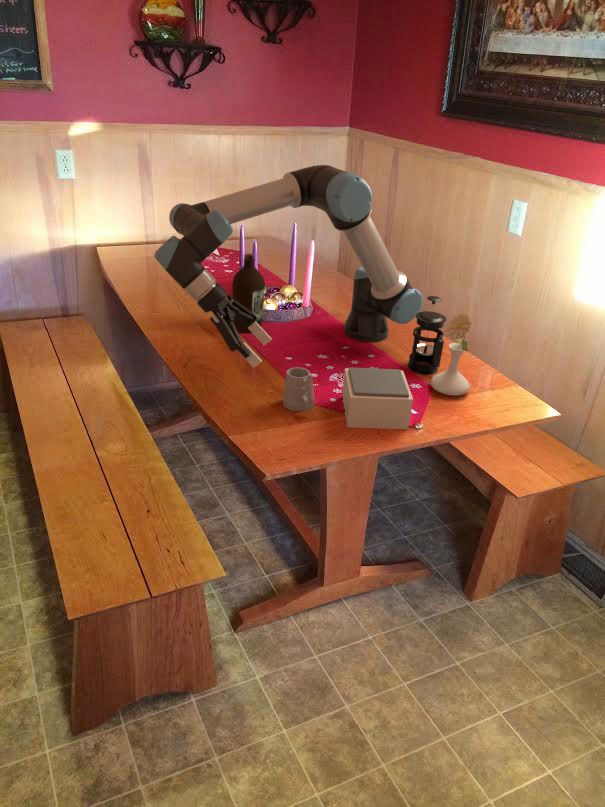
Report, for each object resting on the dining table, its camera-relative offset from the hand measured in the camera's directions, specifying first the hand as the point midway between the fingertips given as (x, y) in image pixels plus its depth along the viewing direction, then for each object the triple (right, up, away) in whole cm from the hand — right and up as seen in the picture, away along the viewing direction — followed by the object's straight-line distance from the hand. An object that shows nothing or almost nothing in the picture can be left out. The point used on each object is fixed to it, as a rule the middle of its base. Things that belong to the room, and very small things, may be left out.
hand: (263, 353), depth 173 cm
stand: (+29, -16, +7) cm, 34 cm away
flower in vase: (+53, -10, +21) cm, 58 cm away
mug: (+10, -14, +7) cm, 19 cm away
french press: (+47, -2, +32) cm, 58 cm away
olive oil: (-8, +12, +51) cm, 53 cm away
